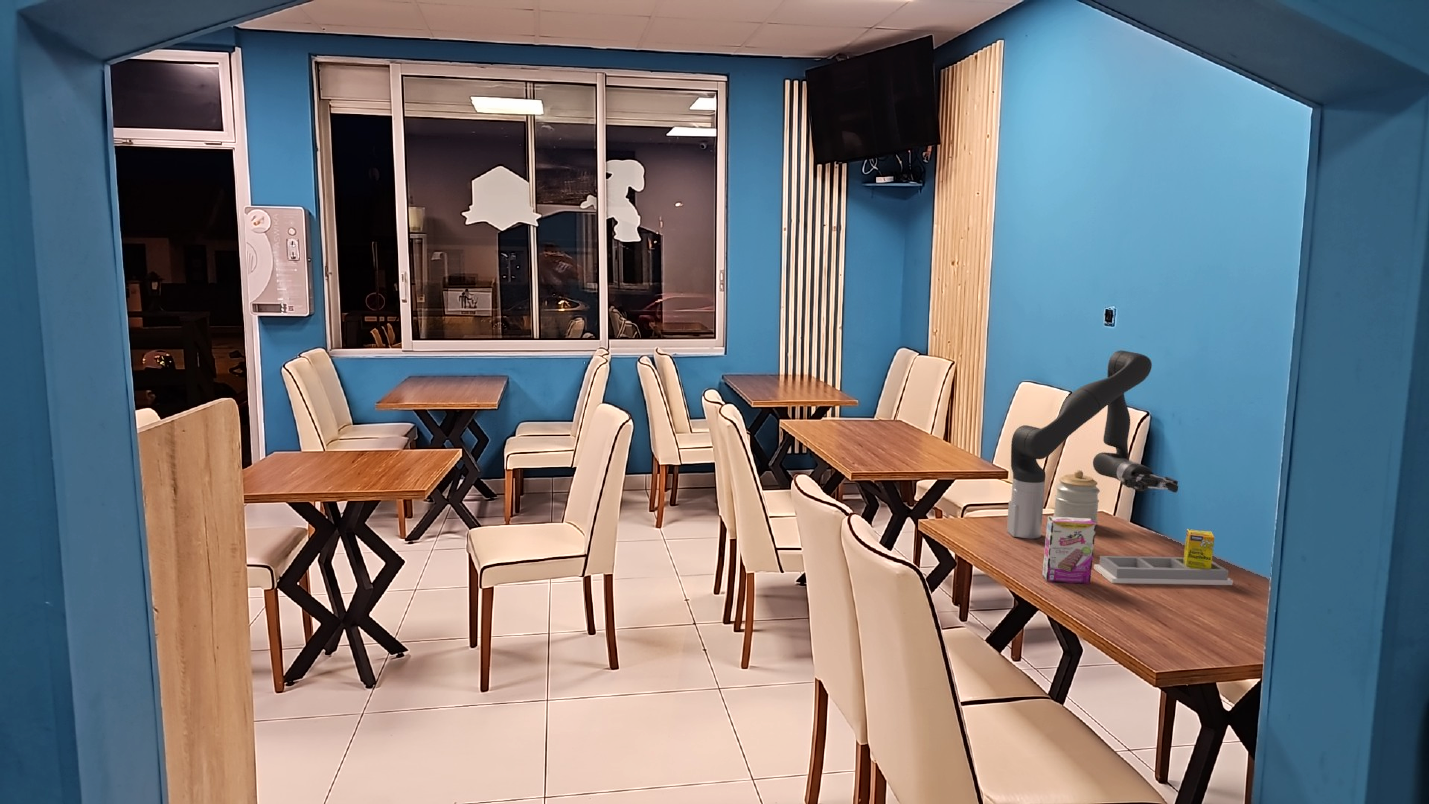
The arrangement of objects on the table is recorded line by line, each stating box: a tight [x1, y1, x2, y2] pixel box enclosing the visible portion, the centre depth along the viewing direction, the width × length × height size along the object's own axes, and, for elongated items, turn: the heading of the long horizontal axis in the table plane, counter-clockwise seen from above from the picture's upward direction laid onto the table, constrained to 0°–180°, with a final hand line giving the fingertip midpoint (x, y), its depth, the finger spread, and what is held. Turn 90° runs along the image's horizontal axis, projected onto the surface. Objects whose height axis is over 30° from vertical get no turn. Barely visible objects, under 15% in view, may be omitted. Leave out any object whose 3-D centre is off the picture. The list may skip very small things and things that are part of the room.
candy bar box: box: [1041, 515, 1097, 584], centre depth 231 cm, size 11×5×16 cm, turn 84°
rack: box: [1093, 555, 1234, 586], centre depth 236 cm, size 31×11×4 cm, turn 90°
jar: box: [1053, 469, 1101, 525], centre depth 282 cm, size 13×13×18 cm
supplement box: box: [1183, 528, 1215, 569], centre depth 235 cm, size 6×6×11 cm
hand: (1161, 488), depth 252 cm, fingers open, 8 cm apart
